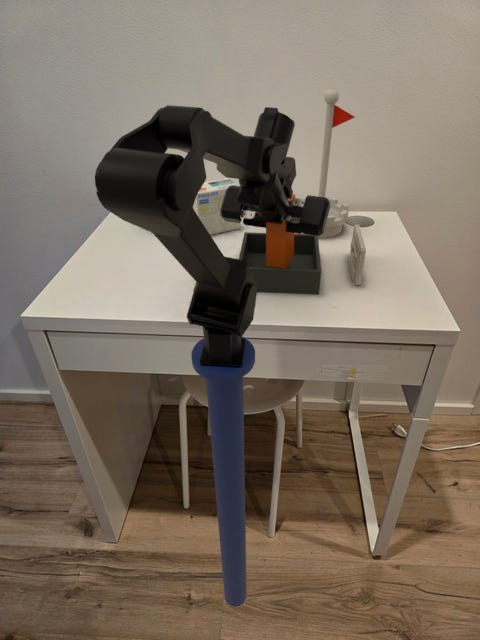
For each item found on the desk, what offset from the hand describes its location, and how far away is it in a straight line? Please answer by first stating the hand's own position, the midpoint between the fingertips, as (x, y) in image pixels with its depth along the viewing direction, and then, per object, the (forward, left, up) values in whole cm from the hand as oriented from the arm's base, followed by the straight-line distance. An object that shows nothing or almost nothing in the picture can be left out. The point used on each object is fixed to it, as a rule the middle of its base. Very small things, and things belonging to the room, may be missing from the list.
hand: (282, 227), depth 84 cm
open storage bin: (-1, 0, -9) cm, 9 cm away
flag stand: (+21, -9, -9) cm, 24 cm away
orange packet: (-1, 0, -7) cm, 7 cm away
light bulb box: (+19, +16, -9) cm, 27 cm away
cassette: (+1, -15, -9) cm, 18 cm away
